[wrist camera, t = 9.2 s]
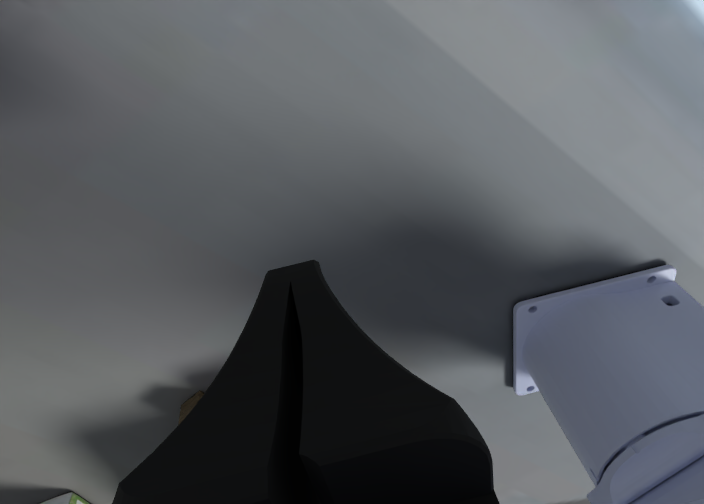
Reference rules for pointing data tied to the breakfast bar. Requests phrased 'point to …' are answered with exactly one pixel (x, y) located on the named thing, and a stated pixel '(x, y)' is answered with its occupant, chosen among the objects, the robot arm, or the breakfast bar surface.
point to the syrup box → (66, 499)
